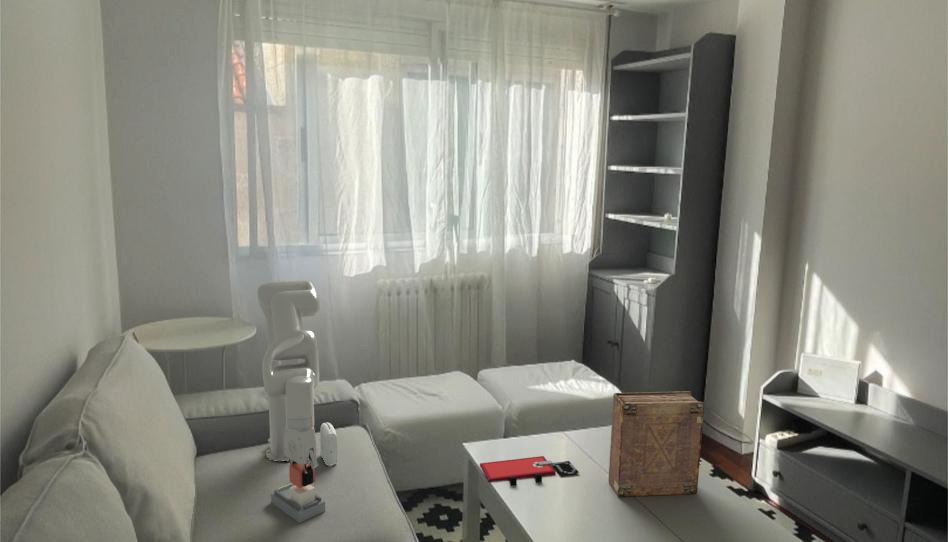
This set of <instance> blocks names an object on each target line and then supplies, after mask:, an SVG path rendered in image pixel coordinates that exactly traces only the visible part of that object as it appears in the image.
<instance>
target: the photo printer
mask: <svg viewBox="0 0 948 542" xmlns="http://www.w3.org/2000/svg"><path fill="white" fill-rule="evenodd" d="M319 435H320V436H319V438H320V439H319V441H320V456H321V458H323V459H322V461H323V460H324V461H323V463H324V462H325V463H324V464H328V465H330V464H334V463H337V464H338V435H337V432H336V429H335V428H334V426H333V424H332V423H330V422H322V424H321V425H320V429H319Z"/></svg>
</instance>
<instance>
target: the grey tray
mask: <svg viewBox="0 0 948 542" xmlns="http://www.w3.org/2000/svg"><path fill="white" fill-rule="evenodd" d="M293 486H295V485H294V484H292V483H290V482H289V484H286V485H283V486H280V487H278V488H277V489H275V490H274V491H273V492H271V493H270V503H271V502H272V503H273V504H272V503H271V504H272V505H274V506H275V507H276V506H277V507H276V508H278V509H280V510H281V511H282V512H283V513H284V514H286V515H288V516H289V517H290V518H292V519H293V520H294V521H296V522H297V523H299V524H300V523H302V522H305V521H307V520H309V519H311V518H313V517H315V516H318V515H320V514H321V513H325V512H326V501H325V500H323V498H322V497H321V496H320V495H318V494H316V493H315V501H313V502H311V503H309V504H307V505H304V506H302V507H300V506H299V505H297V504H296V503H294V502H293V501H291V500H290V488H291V487H293Z"/></svg>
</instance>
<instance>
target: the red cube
mask: <svg viewBox="0 0 948 542" xmlns="http://www.w3.org/2000/svg"><path fill="white" fill-rule="evenodd" d="M308 466H310V465H309V463H308V464H306V467H308ZM288 469H289V470H288V471H289V472H288V473H289V484H290V483H292V484H294V485H295V486H297V487H298V488H302V487H304V486H303V485H302V473H304V472H303V467H302V465H300V464H298V463H295V464H292V465H290V464H289V466H288ZM315 469H316V468H315ZM315 469H314V471H313V483H312V484H314V483H315V482H316V474H315V473H316V470H315Z"/></svg>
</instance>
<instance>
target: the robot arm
mask: <svg viewBox="0 0 948 542" xmlns="http://www.w3.org/2000/svg"><path fill="white" fill-rule="evenodd" d="M256 292H257V293H256V294H257V299H258V303H259V306H260V309H261V311H262V314H263V315H264V318H265V322H266V334H267V335H266V336H267V349H266V351H265V354H264V356H263V358H262V363H261V364H262V368H261V369H262V378H263V379H262V380H263V387H264V392H265V394H266V395H267V399H268V414H269V415H268V416H269V417H268V420H269V438H268V439H267V441H268V443H270V444H269V445H270V447H269V448H268V449H267V450H266V452H265V456H266V459H267V458H268V459H267V460H269V459H271V460H277V461H282V460H290V461H289V466H290V465H292V464H295V463H298V464H300V465H302V467H303V472H304V473H302V485H303V486H304V487H305V486H307V485H312V484H314V483H313V471H314V469H316V468H317V467H318V466H319V462H318V461H317V455H318V453H317V451H318V448H317V437H316V432H315V431H316V429H315V402H314V399H315V398H314V396H315V395H314V393H315V392H314V391H315V389H316V388H317V387H318V386H319V384H320V367H319V366H320V364H319V363H320V362H319V349H318V348H319V347H318V346H319V345H318V340H317V337H316V334H315V333H314V332H313V331H312V330H310V329H309V330H307V329H304V326H303V318H305V317H306V318H307V317H314V316H317V315H318V314H319V312H320V309H321V308H320V307H321V305H320V304H321V303H320V297H319V295H318V292H317V290H316V288H315V287H314V285H313V283H312V282H311V281H308V280H293V281H291V280H289V281H273V282H267V283H262V284H261V285H259V287H258V288H257V291H256ZM292 360H304V362H293V363H285V364H284V363H283V364H277V365H273V362H274V361H276V362H277V361H279V362H282V361H283V362H285V361H292ZM271 460H270V461H271ZM308 463H309V465H310V466H308V467H306V464H308Z"/></svg>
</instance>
